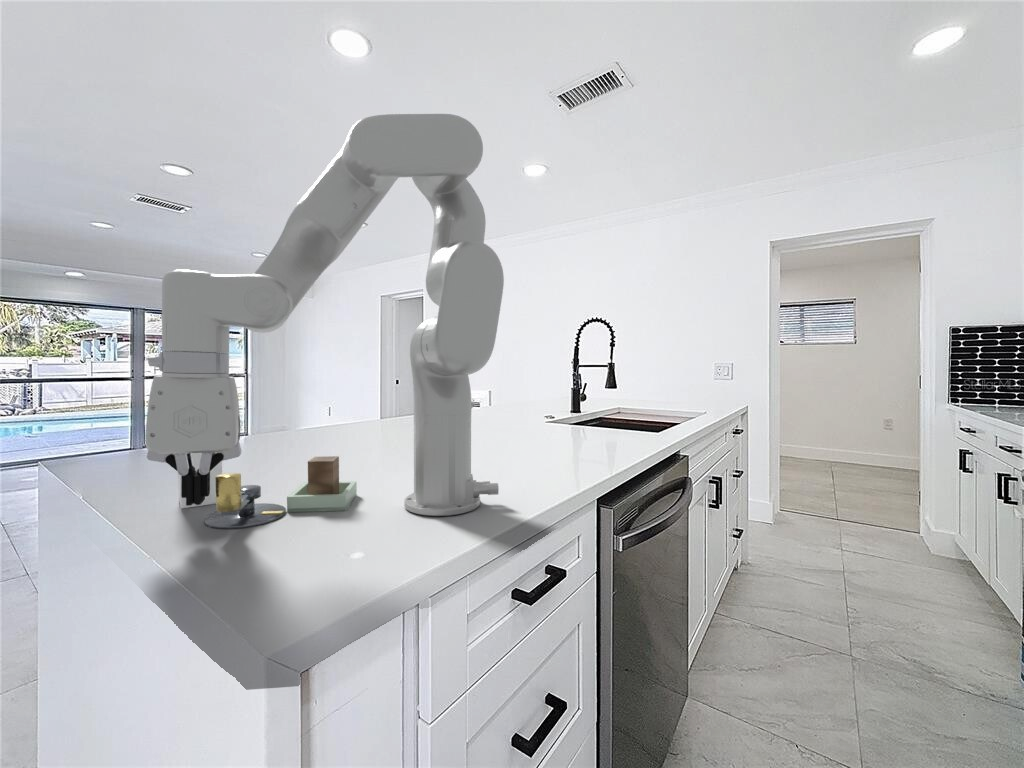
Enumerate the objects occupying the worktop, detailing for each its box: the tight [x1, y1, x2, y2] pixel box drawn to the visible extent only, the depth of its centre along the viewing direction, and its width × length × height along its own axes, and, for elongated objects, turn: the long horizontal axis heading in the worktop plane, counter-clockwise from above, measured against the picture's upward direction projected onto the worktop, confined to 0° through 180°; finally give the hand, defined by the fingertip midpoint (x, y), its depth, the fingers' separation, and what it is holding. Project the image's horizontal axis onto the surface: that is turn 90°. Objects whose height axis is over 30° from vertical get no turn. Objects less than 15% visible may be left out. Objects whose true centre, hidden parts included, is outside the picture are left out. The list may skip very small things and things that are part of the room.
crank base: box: [204, 499, 287, 530], centre depth 75 cm, size 11×11×3 cm
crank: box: [215, 472, 262, 516], centre depth 71 cm, size 12×4×6 cm, turn 15°
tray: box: [286, 480, 358, 513], centre depth 83 cm, size 9×9×2 cm
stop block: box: [307, 455, 340, 495], centre depth 82 cm, size 4×4×7 cm
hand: (195, 502), depth 66 cm, fingers closed
